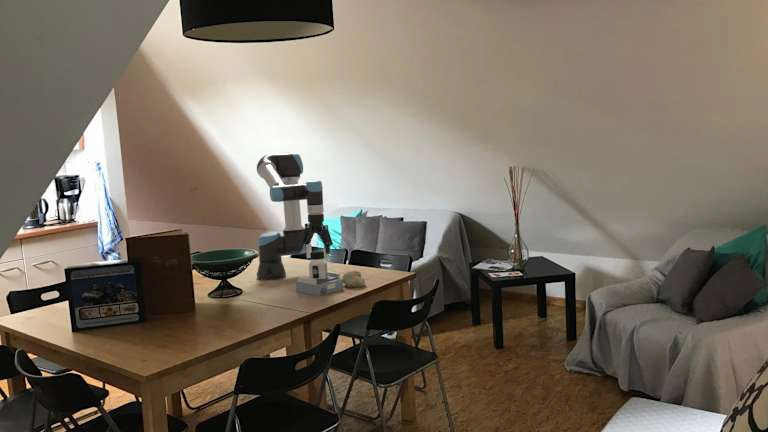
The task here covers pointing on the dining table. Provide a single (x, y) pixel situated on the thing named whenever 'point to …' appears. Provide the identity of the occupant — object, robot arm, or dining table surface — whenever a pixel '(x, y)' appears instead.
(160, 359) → the dining table surface
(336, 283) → the grey low rectangular block
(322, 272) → the container
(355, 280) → the decorative item
